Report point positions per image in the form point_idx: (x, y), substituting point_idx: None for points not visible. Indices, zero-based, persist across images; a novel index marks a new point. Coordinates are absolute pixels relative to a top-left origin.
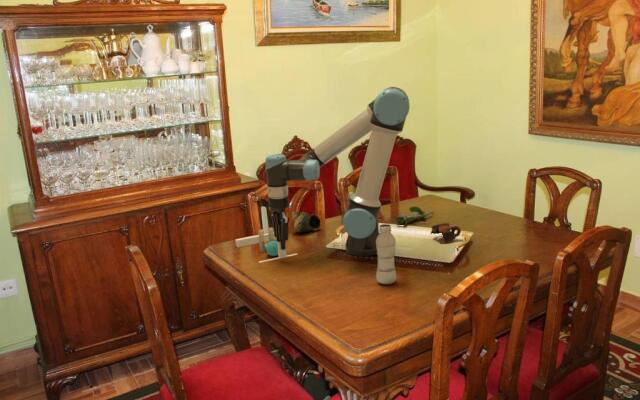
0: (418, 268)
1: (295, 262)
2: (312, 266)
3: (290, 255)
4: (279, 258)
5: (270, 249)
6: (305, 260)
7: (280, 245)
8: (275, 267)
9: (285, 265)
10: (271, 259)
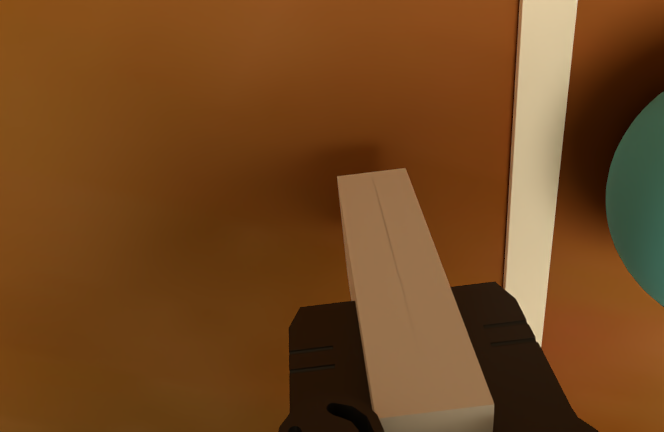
0: None
1: (243, 310)
2: (21, 424)
3: None
4: (511, 175)
5: None
6: (258, 410)
7: (365, 358)
8: (152, 8)
9: (182, 174)
10: (537, 51)
